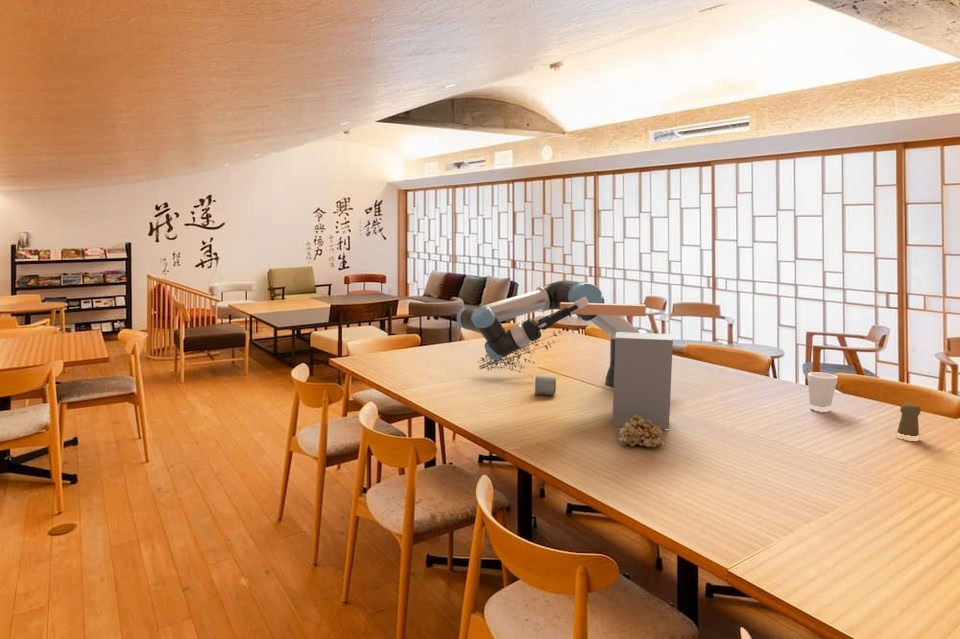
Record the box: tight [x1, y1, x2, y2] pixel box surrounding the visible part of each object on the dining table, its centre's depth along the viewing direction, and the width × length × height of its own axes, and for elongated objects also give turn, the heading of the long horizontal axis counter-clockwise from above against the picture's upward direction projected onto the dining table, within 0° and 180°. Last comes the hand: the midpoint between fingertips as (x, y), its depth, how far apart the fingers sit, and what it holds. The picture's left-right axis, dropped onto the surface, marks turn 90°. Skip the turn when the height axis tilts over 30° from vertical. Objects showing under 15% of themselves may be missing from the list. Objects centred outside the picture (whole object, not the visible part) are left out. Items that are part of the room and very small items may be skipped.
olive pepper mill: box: [896, 403, 922, 436], centre depth 191 cm, size 6×6×11 cm
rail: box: [560, 302, 647, 317], centre depth 205 cm, size 28×4×4 cm, turn 77°
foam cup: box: [807, 371, 838, 407], centre depth 221 cm, size 10×9×13 cm
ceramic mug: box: [534, 375, 557, 396], centre depth 245 cm, size 11×8×8 cm
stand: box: [612, 332, 674, 430], centre depth 205 cm, size 18×12×30 cm, turn 76°
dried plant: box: [477, 321, 572, 379], centre depth 271 cm, size 30×31×45 cm
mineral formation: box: [619, 415, 665, 449], centre depth 187 cm, size 8×13×15 cm
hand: (586, 300), depth 206 cm, fingers closed on rail, 3 cm apart
